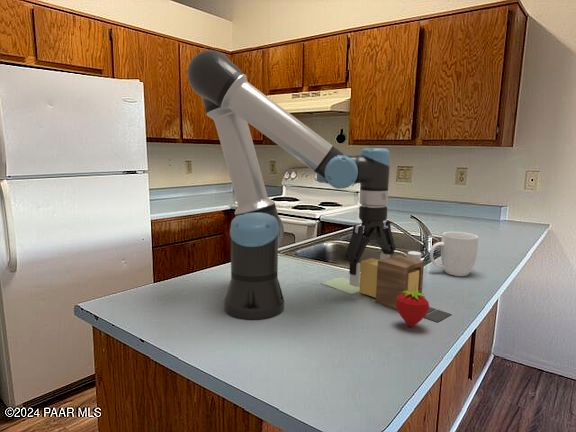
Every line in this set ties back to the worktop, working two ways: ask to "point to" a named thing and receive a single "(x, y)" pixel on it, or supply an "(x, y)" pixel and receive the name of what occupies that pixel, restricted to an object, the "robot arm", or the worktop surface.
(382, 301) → the tunnel
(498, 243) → the worktop surface
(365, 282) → the tan rectangular block
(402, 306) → the strawberry
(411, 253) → the pill bottle
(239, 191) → the robot arm
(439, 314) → the dark grey flat pad
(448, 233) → the mug
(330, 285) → the pad
